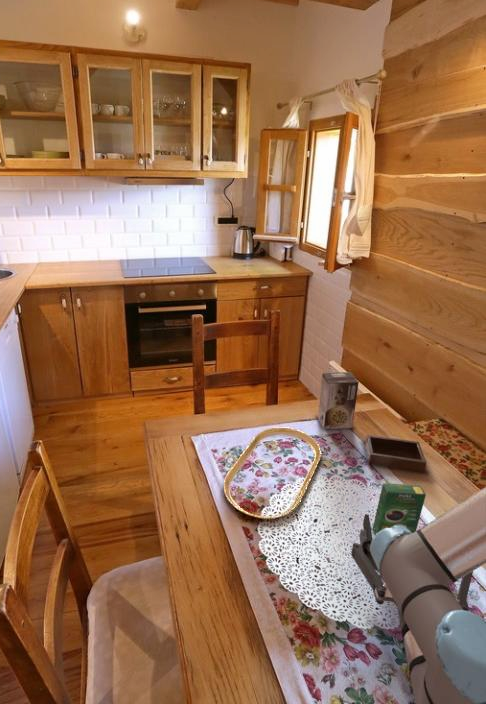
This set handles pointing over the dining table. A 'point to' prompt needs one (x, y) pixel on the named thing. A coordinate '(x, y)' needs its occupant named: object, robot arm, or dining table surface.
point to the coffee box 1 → (337, 400)
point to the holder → (395, 453)
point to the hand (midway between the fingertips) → (401, 525)
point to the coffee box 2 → (399, 506)
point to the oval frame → (250, 449)
